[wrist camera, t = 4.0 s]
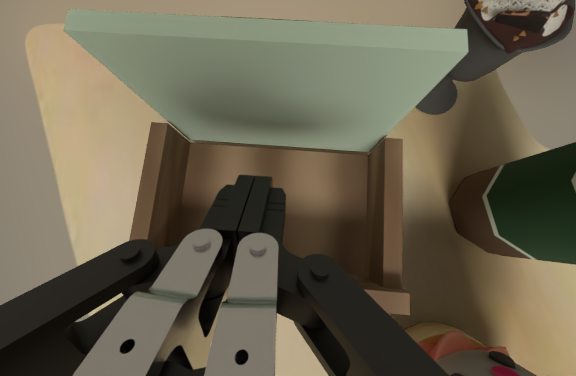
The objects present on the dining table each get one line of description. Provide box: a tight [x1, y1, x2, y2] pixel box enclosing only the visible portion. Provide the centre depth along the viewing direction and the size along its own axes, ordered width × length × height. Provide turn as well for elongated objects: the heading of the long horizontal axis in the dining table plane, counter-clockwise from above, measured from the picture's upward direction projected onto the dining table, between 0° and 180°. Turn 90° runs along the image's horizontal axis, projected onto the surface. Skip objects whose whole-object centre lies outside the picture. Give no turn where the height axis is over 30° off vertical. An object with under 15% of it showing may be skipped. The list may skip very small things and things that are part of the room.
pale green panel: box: [63, 9, 468, 152], centre depth 16 cm, size 16×2×12 cm, turn 85°
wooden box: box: [129, 122, 410, 315], centre depth 19 cm, size 18×11×8 cm, turn 85°
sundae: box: [415, 0, 575, 114], centre depth 18 cm, size 7×7×15 cm
